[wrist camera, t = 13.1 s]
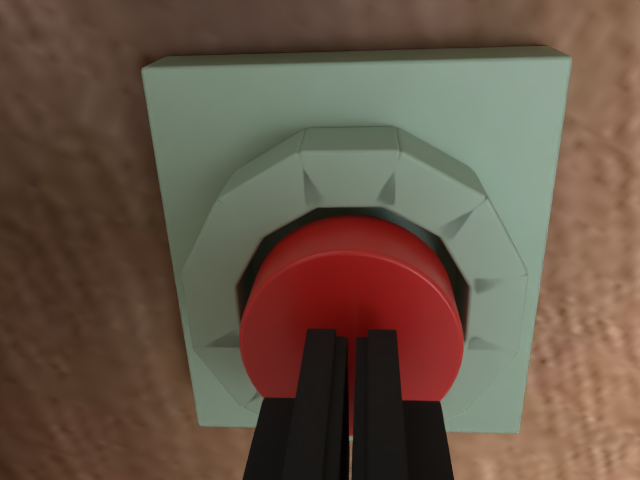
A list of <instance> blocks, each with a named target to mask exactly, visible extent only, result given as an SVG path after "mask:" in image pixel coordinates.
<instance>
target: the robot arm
mask: <svg viewBox="0 0 640 480" xmlns="http://www.w3.org/2000/svg"><path fill="white" fill-rule="evenodd" d="M243 480H349V393H348V341H347V336H337V332H336V329H317V328H308V329H307V333H306V339H305V345H304V350H303V356H302V362H301V368H300V374H299V379H298V385H297V391H296V397H295V398H277V397H265V398H264V399H263V401H262V404H261V408H260V412H259V416H258V420H257V424H256V428H255V432H254V436H253V440H252V444H251V448H250V452H249V456H248V460H247V464H246V468H245V472H244V476H243ZM352 480H454V477H453V471H452V465H451V459H450V453H449V447H448V441H447V435H446V430H445V424H444V418H443V412H442V407H441V403H440V401H420V400H402V393H401V381H400V368H399V355H398V343H397V331H396V329H368V337H356V360H355V390H354V420H353V450H352Z"/></svg>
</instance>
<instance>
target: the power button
mask: <svg viewBox="0 0 640 480" xmlns="http://www.w3.org/2000/svg"><path fill="white" fill-rule="evenodd" d="M308 328H317V329H336V332H337V336H347V341H348V393H349V436H353V420H354V390H355V360H356V337H368V329H396V331H397V343H398V355H399V368H400V381H401V393H402V400H420V401H441V400H442V399H443V398H444V397H445V395H446V394H447V393H448V391H449V390H450V388H451V387H452V385H453V383H454V381H455V379H456V377H457V375H458V373H459V369H460V366H461V363H462V358H463V352H464V336H463V330H462V325H461V321H460V317H459V313H458V309H457V305H456V302H455V298H454V294H453V290H452V286H451V283H450V280H449V277H448V274H447V272H446V270H445V268H444V266H443V264H442V262H441V261H440V259H439V258H438V256H437V255H436V254H435V252H434V251H433V250H432V249H431V248H430V247H429V246H428V245H427V244H426V243H425V242H424V241H423V240H421V239H420V238H419V237H418V236H416V235H415V234H413V233H412V232H410V231H409V230H407V229H405V228H403V227H401V226H399V225H397V224H394V223H392V222H389V221H386V220H383V219H379V218H375V217H369V216H362V215H341V216H333V217H328V218H322V219H319V220H316V221H313V222H310V223H308V224H306V225H303V226H301V227H299V228H297V229H296V230H294V231H293V232H291V233H289V234H288V235H286V236H285V237H284V238H283V239H282V240H280V241H279V242H278V243H277V244H276V245H275V246H274V247H273V249H272V250H271V251H270V252H269V253H268V255H267V256H266V258H265V259H264V261H263V262H262V264H261V266H260V269H259V271H258V273H257V276H256V279H255V281H254V284H253V287H252V290H251V293H250V296H249V299H248V302H247V304H246V307H245V310H244V313H243V317H242V320H241V324H240V332H239V347H240V353H241V358H242V361H243V364H244V367H245V370H246V373H247V375H248V377H249V378H250V380H251V382H252V384H253V385H254V387H255V388H256V390H257V391H258V392H259V394H260V395H261V396H262V397H263V398H265V397H277V398H295V397H296V391H297V385H298V379H299V374H300V368H301V362H302V356H303V350H304V345H305V339H306V333H307V329H308Z"/></svg>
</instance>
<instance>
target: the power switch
mask: <svg viewBox="0 0 640 480" xmlns="http://www.w3.org/2000/svg"><path fill="white" fill-rule="evenodd" d="M571 64H572V58H571V56H569V55H566V54H564V53H562V52H560V51H558V50H556V49H554V48H552V47H549V46H516V47H480V48H444V49H408V50H373V51H337V52H301V53H266V54H230V55H194V56H166V57H164V58H162V59H160V60H158V61H155V62H153V63H151V64H149V65H147V66H145V67H143V68H142V70H141V74H142V80H143V86H144V92H145V98H146V105H147V111H148V117H149V123H150V129H151V135H152V142H153V148H154V154H155V160H156V166H157V173H158V179H159V185H160V191H161V197H162V203H163V210H164V216H165V222H166V228H167V234H168V240H169V247H170V253H171V259H172V265H173V271H174V278H175V284H176V290H177V296H178V302H179V308H180V315H181V321H182V327H183V333H184V339H185V345H186V352H187V358H188V364H189V370H190V376H191V382H192V389H193V395H194V401H195V407H196V413H197V420H198V425H199V426H214V427H256V424H257V420H258V416H259V412H260V408H261V404H262V401H263V399H264V398H263V397H262V396H261V395H260V394H259V392H258V391H257V390H256V388H255V387H254V385H253V384H252V382H251V380H250V378H249V377H248V375H247V373H246V370H245V367H244V364H243V361H242V358H241V353H240V347H239V332H240V324H241V320H242V317H243V313H244V310H245V307H246V304H247V302H248V299H249V296H250V293H251V290H252V287H253V284H254V281H255V279H256V276H257V273H258V271H259V269H260V266H261V264H262V262H263V261H264V259H265V258H266V256H267V255H268V253H269V252H270V251H271V250H272V249H273V247H274V246H275V245H276V244H277V243H278V242H279V241H280V240H282V239H283V238H284V237H285V236H286V235H288V234H289V233H291V232H293V231H294V230H296V229H297V228H299V227H301V226H303V225H306V224H308V223H310V222H313V221H316V220H319V219H322V218H328V217H333V216H341V215H362V216H369V217H375V218H379V219H383V220H386V221H389V222H392V223H394V224H397V225H399V226H401V227H403V228H405V229H407V230H409V231H410V232H412V233H413V234H415V235H416V236H418V237H419V238H420V239H421V240H423V241H424V242H425V243H426V244H427V245H428V246H429V247H430V248H431V249H432V250H433V251H434V252H435V254H436V255H437V256H438V258H439V259H440V261H441V262H442V264H443V266H444V268H445V270H446V272H447V274H448V277H449V280H450V283H451V286H452V290H453V294H454V298H455V302H456V305H457V309H458V313H459V317H460V321H461V325H462V330H463V336H464V352H463V358H462V363H461V366H460V369H459V373H458V375H457V377H456V379H455V381H454V383H453V385H452V387H451V388H450V390H449V391H448V393H447V394H446V395H445V397H444V398H443V399H442V400H441V401H440V403H441V407H442V412H443V418H444V424H445V430H446V432H472V433H515V434H516V433H519V431H520V424H521V417H522V410H523V403H524V396H525V389H526V382H527V375H528V368H529V361H530V354H531V347H532V340H533V333H534V325H535V318H536V311H537V304H538V297H539V290H540V283H541V276H542V269H543V262H544V255H545V248H546V241H547V234H548V227H549V220H550V213H551V205H552V198H553V191H554V184H555V177H556V170H557V163H558V156H559V149H560V142H561V135H562V128H563V121H564V114H565V107H566V100H567V93H568V85H569V78H570V71H571ZM349 441H353V436H349Z"/></svg>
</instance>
